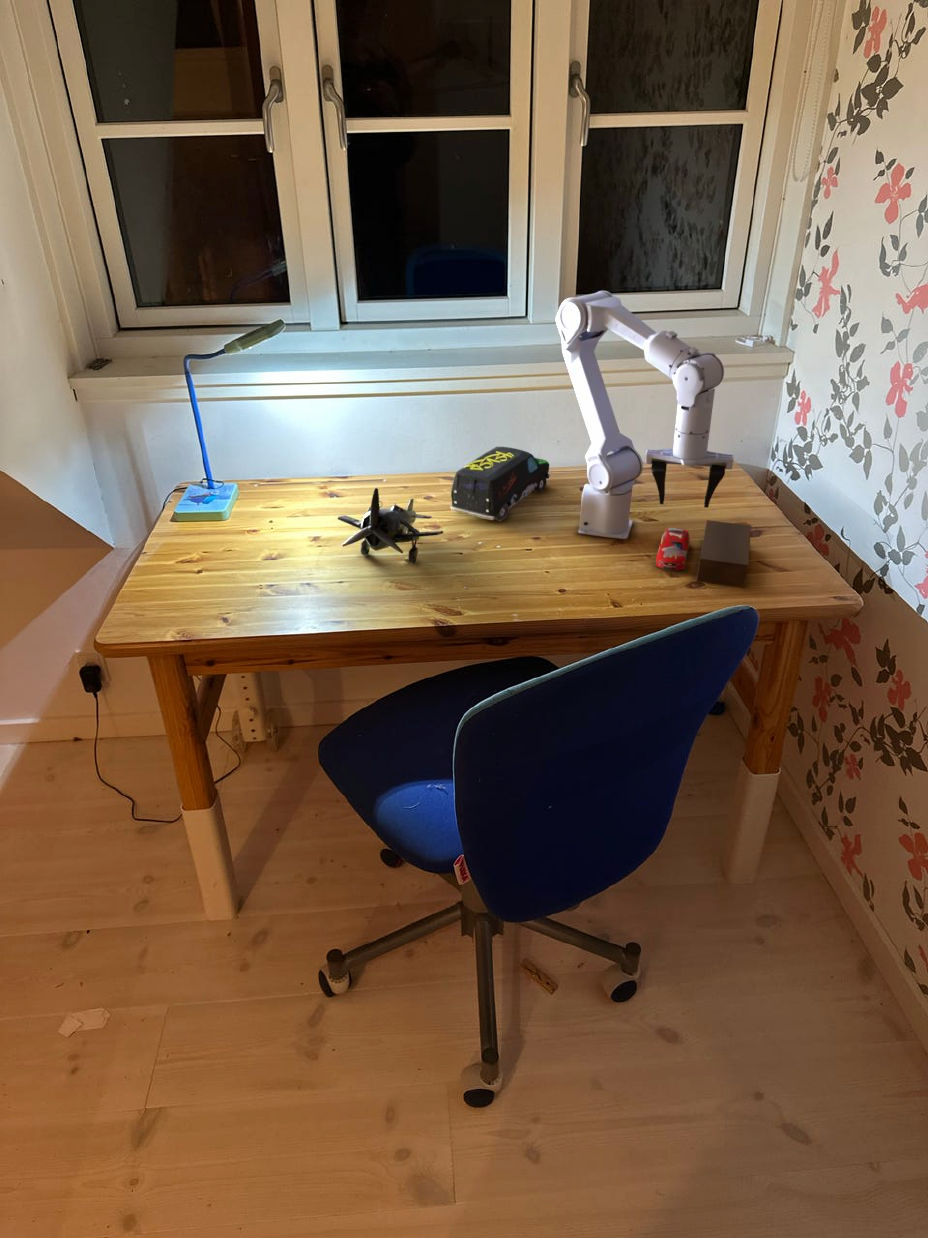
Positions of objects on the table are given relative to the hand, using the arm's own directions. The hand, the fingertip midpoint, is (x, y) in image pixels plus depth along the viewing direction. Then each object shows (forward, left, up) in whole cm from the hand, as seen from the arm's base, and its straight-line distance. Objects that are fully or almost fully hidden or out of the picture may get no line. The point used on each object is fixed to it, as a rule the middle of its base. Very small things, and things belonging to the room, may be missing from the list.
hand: (683, 503), depth 148 cm
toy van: (-38, +15, -11) cm, 42 cm away
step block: (+8, 0, -11) cm, 14 cm away
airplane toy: (-51, -13, -11) cm, 53 cm away
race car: (-1, 0, -11) cm, 11 cm away
